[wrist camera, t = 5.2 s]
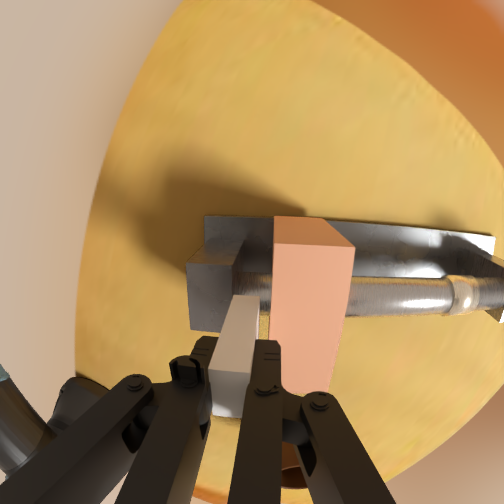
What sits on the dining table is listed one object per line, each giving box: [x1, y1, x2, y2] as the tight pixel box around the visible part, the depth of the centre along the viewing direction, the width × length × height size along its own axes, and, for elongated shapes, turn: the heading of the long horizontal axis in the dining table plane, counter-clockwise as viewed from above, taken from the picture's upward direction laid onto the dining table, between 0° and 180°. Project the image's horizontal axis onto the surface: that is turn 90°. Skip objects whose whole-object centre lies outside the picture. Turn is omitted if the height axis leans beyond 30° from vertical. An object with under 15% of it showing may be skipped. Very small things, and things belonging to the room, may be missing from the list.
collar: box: [268, 216, 355, 393], centre depth 19 cm, size 4×10×10 cm, turn 179°
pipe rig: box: [186, 215, 504, 333], centre depth 20 cm, size 32×9×8 cm, turn 89°
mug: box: [281, 441, 308, 489], centre depth 25 cm, size 12×8×9 cm, turn 174°
